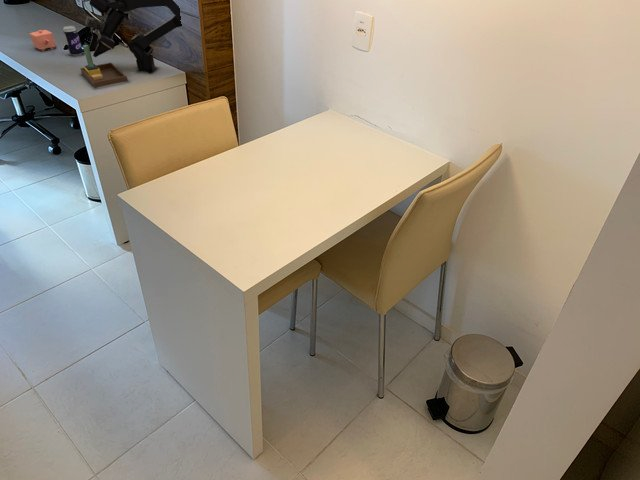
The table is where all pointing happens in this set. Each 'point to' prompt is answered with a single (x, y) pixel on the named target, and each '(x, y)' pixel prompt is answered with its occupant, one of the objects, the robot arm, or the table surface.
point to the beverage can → (72, 40)
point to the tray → (106, 75)
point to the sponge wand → (90, 63)
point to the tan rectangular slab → (97, 76)
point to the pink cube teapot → (43, 39)
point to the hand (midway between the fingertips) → (91, 53)
